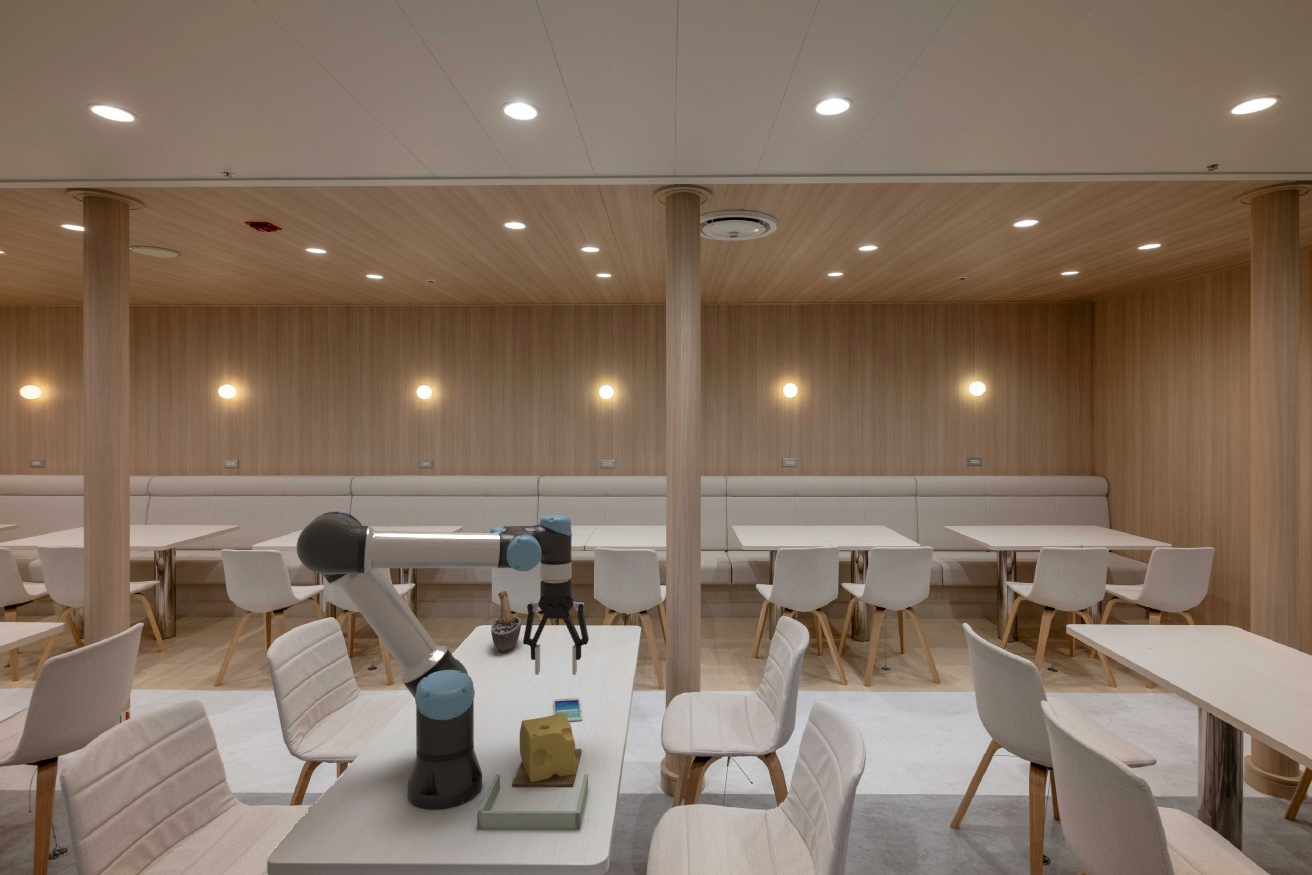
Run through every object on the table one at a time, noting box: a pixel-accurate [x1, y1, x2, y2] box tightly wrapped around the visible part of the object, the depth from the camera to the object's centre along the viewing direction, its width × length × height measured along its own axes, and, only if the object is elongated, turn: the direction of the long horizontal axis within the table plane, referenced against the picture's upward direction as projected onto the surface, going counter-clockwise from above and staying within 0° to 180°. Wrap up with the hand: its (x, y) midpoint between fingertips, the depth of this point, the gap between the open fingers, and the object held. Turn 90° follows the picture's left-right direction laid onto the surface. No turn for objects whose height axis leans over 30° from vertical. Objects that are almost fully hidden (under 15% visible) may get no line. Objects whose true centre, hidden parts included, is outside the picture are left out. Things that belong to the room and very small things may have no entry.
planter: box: [490, 590, 522, 653], centre depth 237 cm, size 15×17×20 cm
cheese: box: [519, 713, 577, 782], centre depth 151 cm, size 10×11×10 cm
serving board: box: [511, 748, 583, 788], centre depth 152 cm, size 16×13×1 cm
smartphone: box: [552, 697, 583, 723], centre depth 184 cm, size 7×1×15 cm
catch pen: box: [476, 773, 589, 830], centre depth 136 cm, size 15×20×3 cm
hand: (556, 672), depth 164 cm, fingers open, 8 cm apart
